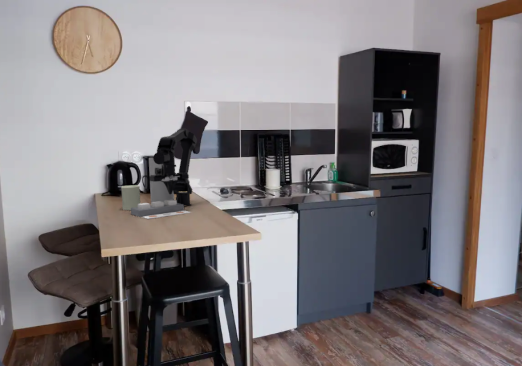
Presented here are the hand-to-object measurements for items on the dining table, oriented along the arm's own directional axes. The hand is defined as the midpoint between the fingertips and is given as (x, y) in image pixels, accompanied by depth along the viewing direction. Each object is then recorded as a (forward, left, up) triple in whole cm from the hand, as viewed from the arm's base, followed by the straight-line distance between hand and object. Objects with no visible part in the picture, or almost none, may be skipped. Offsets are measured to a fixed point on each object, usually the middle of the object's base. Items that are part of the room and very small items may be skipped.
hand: (170, 194), depth 218 cm
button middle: (+7, 0, -6) cm, 9 cm away
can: (+12, -20, -8) cm, 25 cm away
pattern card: (+7, +10, -8) cm, 14 cm away
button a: (+14, 0, -6) cm, 15 cm away
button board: (+7, 0, -8) cm, 11 cm away
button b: (0, 0, -6) cm, 6 cm away
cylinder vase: (-7, -23, -8) cm, 25 cm away
